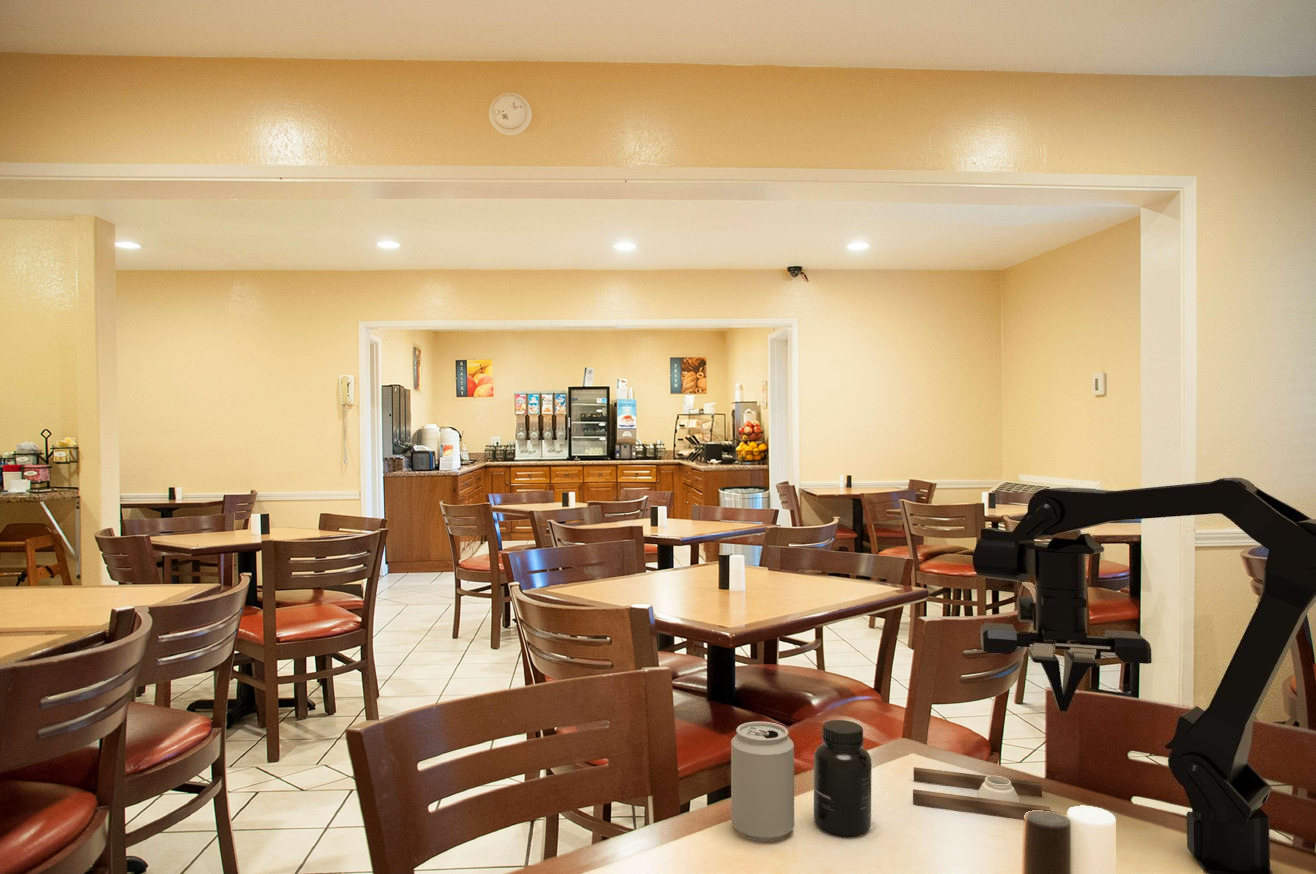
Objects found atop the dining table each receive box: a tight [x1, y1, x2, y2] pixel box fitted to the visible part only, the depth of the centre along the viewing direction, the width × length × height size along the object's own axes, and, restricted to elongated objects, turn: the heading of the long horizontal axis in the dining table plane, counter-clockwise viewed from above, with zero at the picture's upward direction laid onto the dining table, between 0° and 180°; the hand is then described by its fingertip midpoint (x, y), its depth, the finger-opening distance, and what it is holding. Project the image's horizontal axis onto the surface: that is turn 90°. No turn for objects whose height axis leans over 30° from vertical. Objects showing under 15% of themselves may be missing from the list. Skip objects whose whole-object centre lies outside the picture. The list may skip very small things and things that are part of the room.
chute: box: [912, 766, 1052, 821], centre depth 102 cm, size 16×9×2 cm, turn 71°
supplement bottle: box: [813, 719, 873, 839], centre depth 95 cm, size 7×7×12 cm
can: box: [730, 721, 795, 842], centre depth 94 cm, size 8×8×12 cm
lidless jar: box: [976, 775, 1021, 803], centre depth 101 cm, size 5×3×5 cm
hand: (1062, 710), depth 99 cm, fingers closed
